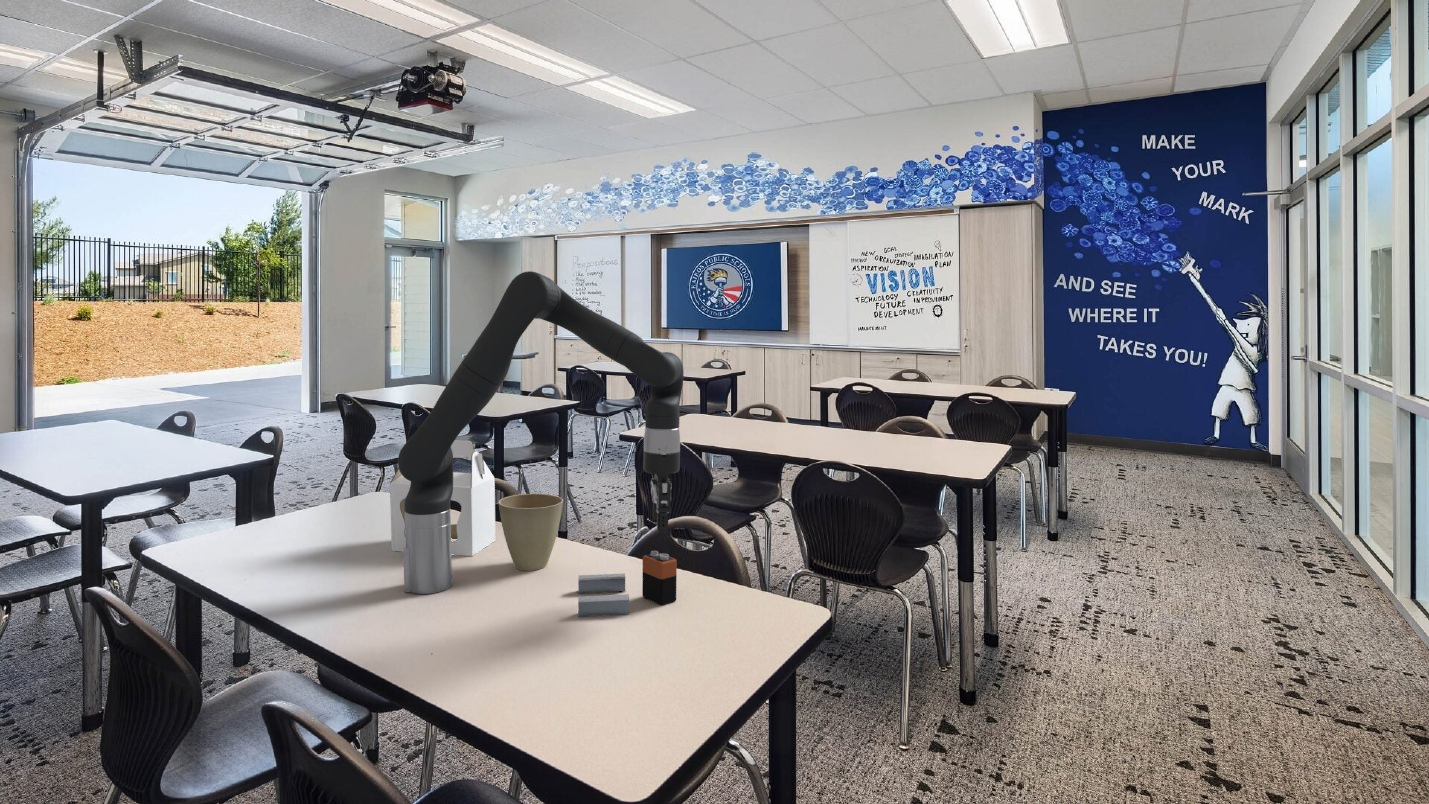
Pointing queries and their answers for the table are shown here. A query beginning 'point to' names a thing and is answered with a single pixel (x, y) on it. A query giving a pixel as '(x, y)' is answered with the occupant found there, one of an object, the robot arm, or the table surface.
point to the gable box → (468, 491)
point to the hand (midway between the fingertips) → (660, 525)
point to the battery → (659, 578)
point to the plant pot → (530, 527)
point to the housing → (602, 603)
